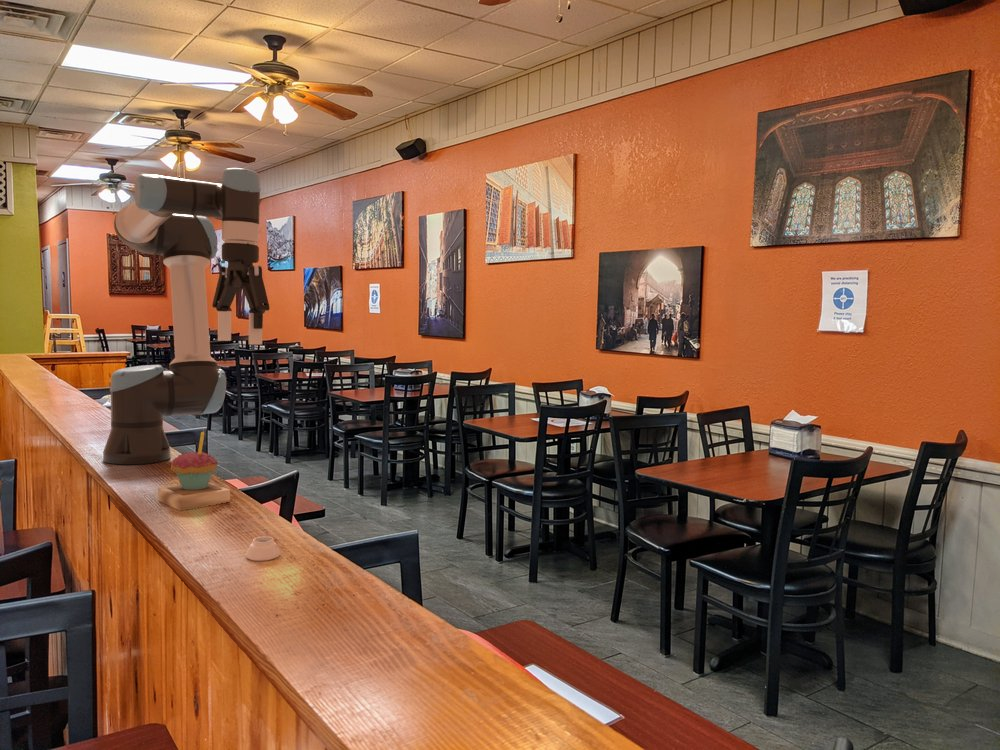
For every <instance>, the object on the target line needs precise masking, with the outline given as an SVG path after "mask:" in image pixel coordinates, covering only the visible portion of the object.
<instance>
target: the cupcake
mask: <svg viewBox="0 0 1000 750" xmlns="http://www.w3.org/2000/svg"><path fill="white" fill-rule="evenodd" d="M204 439H205V428H203V429H202V431H201V432H200V438H199V443H198V450H197V452H196V451H195V452H194V451H193V452H185V453H181V454H180V455H178V456H177V457H175V458H174V459H173V460H172V461H171V465H170V471H171V472H172V473H175V474H176V476H177V478H178V480H179V484H180V485H181V487H182V489H185V490H200V489H204V488H207V487H208V483H209V482H210V480H211V477H212V475H213V473H214V471H216V470H217V467H218V466H217V465H219V463H218V461H217V459H216V458H215V457H214V456H212V455H211V454H209V453H205V451H204V452H203V445H204Z"/></svg>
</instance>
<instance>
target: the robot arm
mask: <svg viewBox="0 0 1000 750" xmlns="http://www.w3.org/2000/svg"><path fill="white" fill-rule="evenodd" d="M221 177H222V178H221V182H220V183H217V182H216V183H215V182H208V181H200V180H194V179H186V178H179V177H173V176H165V175H159V174H158V173H157V174H156V173H155V174H148V173H141V174H140V173H139V174H138V175H137V177H136V179H135V183H134V189H133V190H134V193H133V194H134V200H133V202H132V203H131V204H129V205H126V206H124V207H122V208H121V209H120V210H119V211H118V212H117V213H116V214H115V217H114V220H113V229H114V231H115V234H116V236H117V237H118V239H119V240H120V241H121V242H122V243H123V244H124V245H126V246H127V247H128V248H130V249H132V250H135V251H136V252H139V253H141V254H146V255H153V256H154V255H156V256H162V263H163V265H165V266H166V267H167V268H168V269H169V273H170V274H169V275H170V279H169V280H170V289H171V290H170V292H171V308H172V309H171V310H172V325H173V327H172V328H173V342H174V345H173V346H174V358H173V360H171V361H170V363H169V365H168V366H169V367H168V368H169V370H164V367H163V366H162V365H161V364H149V365H146V364H145V365H137V366H131V367H130V366H129V367H124V368H120V369H117V370H115V371H114V372H112V374H111V376H110V388H109V392H110V431H109V434H108V437H107V440H106V442H105V445H104V449H103V453H102V461H103V462H104V463H106V464H107V463H108V464H113V465H143V464H145V465H146V464H153V463H158V462H159V463H160V462H163V461H166V460H169V459H171V447H170V444H169V441H168V438H167V436H166V433H165V430H164V417H171V416H189V415H191V416H193V415H199V416H202V415H206V414H207V415H208V414H214V413H217V412H218V411H219V410H220V409H221V408H222V406H223V405H224V404H223V403H224V400H225V397H226V392H227V391H226V390H227V377H226V376H227V375H226V372H225V370H223V369H221V368H218V361H217V360H215V359H214V358H213V357H212V356H211V344H210V328H209V314H208V299H207V297H208V296H207V295H208V294H207V282H206V268H208V266H210V264H211V260H212V259H214V258H215V257H216V255H217V251H218V248H217V245H218V240H217V233H216V230H215V229H216V228H215V226H214V223H213V222H212V220H211V219H210V218H214V220H215V219H216V220H218V221H221V241H223V243H222V244H221V260H222V261H224V262H226V263H228V264H227V265H226V266H225V265H220V266H219V274H218V279H217V283H216V288H215V292H214V296H213V300H212V305H211V306H212V307H213V309H216V310H215V311H217V341H220V342H222V341H223V342H224V341H225V342H226V341H227V342H228V341H229V342H230V341H232V311H233V310H232V308H231V306H232V304H233V301H234V300H235V296H236V294H237V292H238V291H239V290H240V289H241V290H242V291H243V294H244V297H245V299H246V301H247V303H248V306H249V310H248V345H250V346H251V345H258V346H259V345H261V346H262V345H263V322H264V320H263V319H264V315H263V314H265V312H266V311H270V303H269V299H268V295H267V294H268V293H267V290H266V288H265V287H266V286H265V283H264V278H263V267H262V265H254V264H256V263H259V260H260V248H259V246H258V244H259V242H260V232H261V231H260V206H261V205H260V202H261V201H260V200H261V197H260V195H261V186H260V185H261V183H260V175H259V173H258V172H257V171H255V170H251V169H248V168H239V167H229V168H225V169H224V170H223V171H222V176H221Z"/></svg>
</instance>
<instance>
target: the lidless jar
mask: <svg viewBox="0 0 1000 750" xmlns="http://www.w3.org/2000/svg"><path fill="white" fill-rule="evenodd" d="M279 556H281V551H280V549H279V546H278V545H277V543H276V542H275V541H274V537H272V536H268V535H266V536H257V537H255V538H253V539H252V542H251V543H250V545H249V546H248V549H247V550H246V552H245V557H246V558H247V559H248V560H251V561H255V562H267V561H272V560H274V559H277V558H278V557H279Z"/></svg>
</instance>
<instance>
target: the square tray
mask: <svg viewBox="0 0 1000 750" xmlns="http://www.w3.org/2000/svg"><path fill="white" fill-rule="evenodd" d="M157 491H158V493H157V495H158V497H157V500H158V501H159V502H160V503H163V504H165V505H167V506H169V507H171V508H173V509H176V510H178V511H179V512H181V510H182V511H187V510H186V509H188V510H191V509H192V508H193V509H199V508H204V506H205V507H209V506H208V505H211V506H217V505H222V504H221V503H223V504H227V503H226V502H229V503H231V489H230V488H229V489H228V488H227V487H224V486H221V485H219V484H217V483H214V482H211V481H209V483H208V487H207V488H204V489H200V490H185V489H182V487H181V484H178V485H171V486H170V485H169V486H165V487H164V486H163V487H158V488H157ZM216 504H217V505H216ZM198 507H199V508H198ZM193 509H192V510H193Z"/></svg>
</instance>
